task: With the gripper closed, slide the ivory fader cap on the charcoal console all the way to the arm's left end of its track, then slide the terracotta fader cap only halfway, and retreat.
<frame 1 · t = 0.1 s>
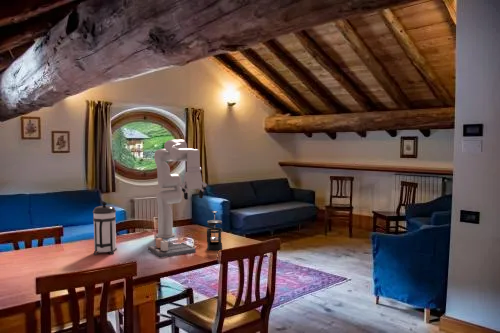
hand: (193, 198, 254), 31 cm above the table, fingers open, 9 cm apart
coffee press: (105, 253, 250), on the table
console: (171, 251, 254), on the table
fader terracotta: (159, 242, 254), point 5 cm above the table, slide at 0.0 cm
fader ivory: (164, 245, 247), point 5 cm above the table, slide at 0.0 cm
french press: (214, 248, 260), on the table
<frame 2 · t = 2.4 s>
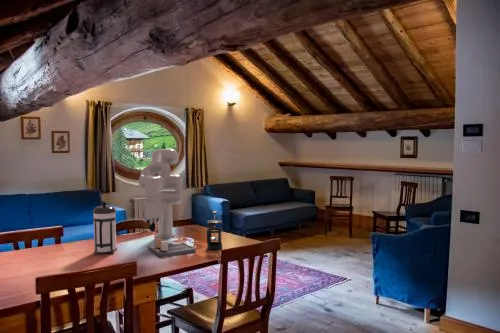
hand: (152, 230, 243), 15 cm above the table, fingers closed
nothing on the table moved.
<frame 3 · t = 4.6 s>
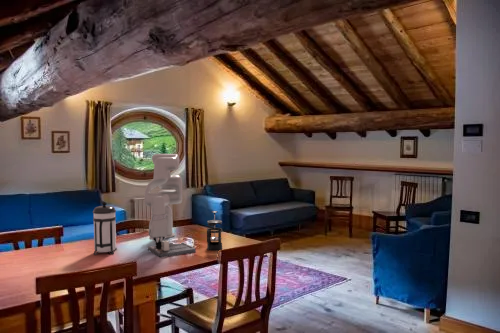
hand: (158, 248, 246), 4 cm above the table, fingers closed
fader ivory: (165, 245, 248), point 5 cm above the table, slide at 0.6 cm, touching gripper
everything else where it was.
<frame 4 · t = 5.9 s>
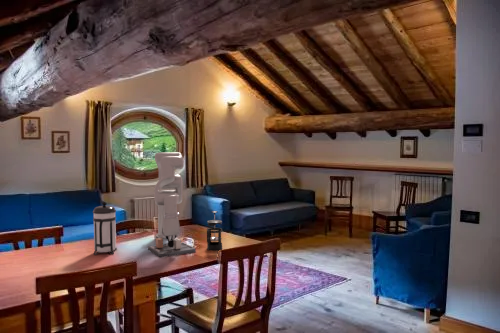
hand: (170, 246, 250), 4 cm above the table, fingers closed
fader ivory: (177, 243, 252), point 5 cm above the table, slide at 8.1 cm, touching gripper
everything else where it was.
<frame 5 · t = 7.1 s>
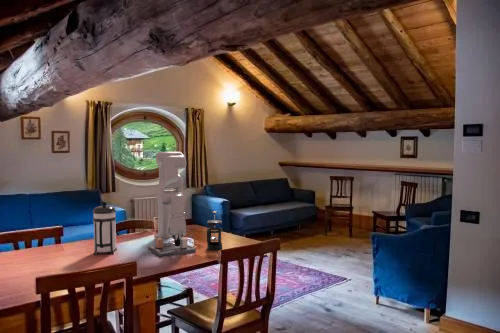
hand: (177, 245, 252), 4 cm above the table, fingers closed
fader ivory: (183, 242, 254), point 5 cm above the table, slide at 12.1 cm, touching gripper
everything else where it was.
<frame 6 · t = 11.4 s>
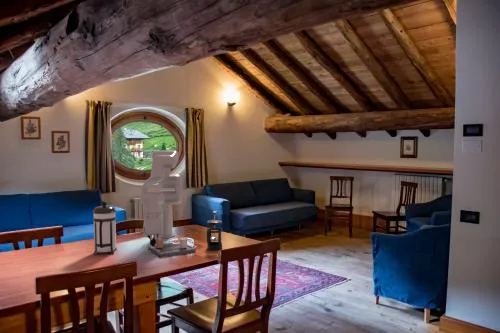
hand: (152, 245, 252), 4 cm above the table, fingers closed
fader terracotta: (159, 242, 254), point 5 cm above the table, slide at 0.1 cm, touching gripper
fader ivory: (183, 242, 254), point 5 cm above the table, slide at 12.0 cm
everything else where it was.
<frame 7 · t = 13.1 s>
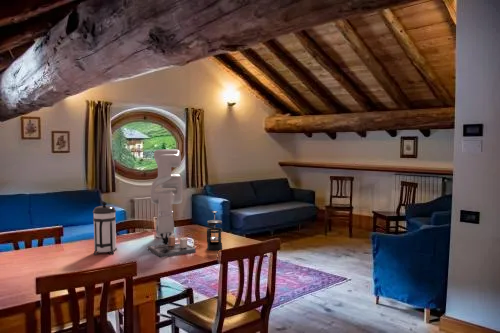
hand: (165, 244, 256), 4 cm above the table, fingers closed
fader terracotta: (171, 241, 258), point 5 cm above the table, slide at 7.9 cm, touching gripper
everything else where it was.
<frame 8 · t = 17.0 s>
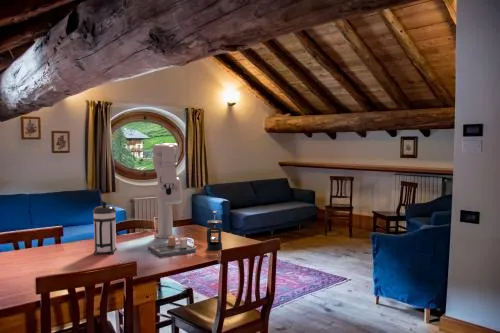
hand: (168, 194, 265), 32 cm above the table, fingers closed
fader terracotta: (171, 241, 258), point 5 cm above the table, slide at 8.0 cm
everything else where it was.
at the end: fader ivory slide at 12.0 cm; fader terracotta slide at 8.0 cm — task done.
